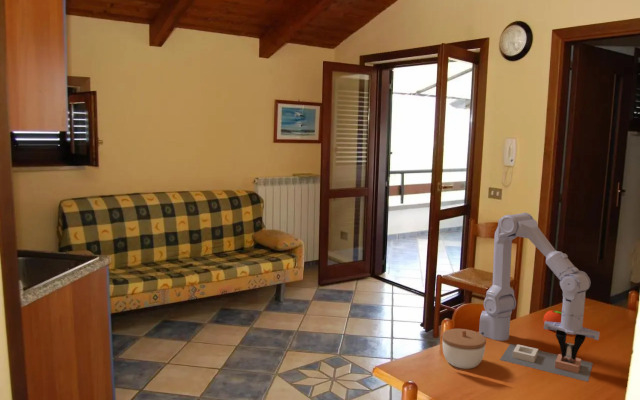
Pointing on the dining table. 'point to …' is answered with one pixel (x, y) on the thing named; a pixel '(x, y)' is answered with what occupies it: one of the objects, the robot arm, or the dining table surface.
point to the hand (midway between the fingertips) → (568, 356)
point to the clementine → (552, 316)
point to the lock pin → (569, 352)
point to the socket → (568, 364)
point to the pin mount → (525, 353)
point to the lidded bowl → (463, 347)
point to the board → (548, 364)
